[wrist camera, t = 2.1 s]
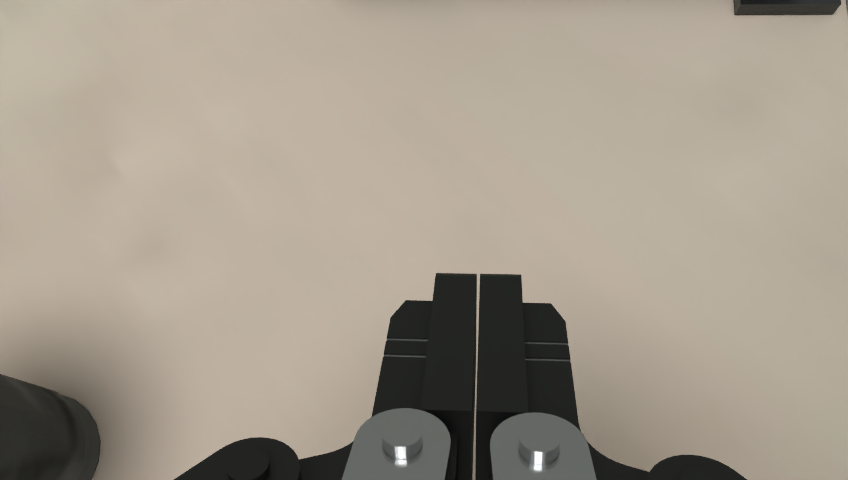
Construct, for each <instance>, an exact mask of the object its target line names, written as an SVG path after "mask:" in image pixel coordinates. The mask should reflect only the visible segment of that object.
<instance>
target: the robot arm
mask: <svg viewBox="0 0 848 480" xmlns="http://www.w3.org/2000/svg"><path fill="white" fill-rule="evenodd" d="M476 300H477V274H454V273H436V277H435V286H434V294H433V301H411V300H406V301H405V302H404V303H403V304H402V305H401V306H400V308H399V309H398V310H397V311H396V312H395V313H394V314H393V315H392V317H391V319H390V324H389V329H388V334H387V341H386V345H385V350H384V357H383V361H382V366H381V371H380V376H379V381H378V387H377V392H376V397H375V402H374V408H373V413H372V417H371V418H370V419H368V420H367V421H366V422H365V423H364V424H363V425H362V426H361V427H360V429H359V430H358V432H357V434H356V436H355V439H354V441H353V442H352V443H351V444H349V445H347V446H345V447H343V448H341V449H339V450H336V451H334V452H330V453H327V454H323V455H318V456H314V457H309V458H304V459H300V460H299V459H298V457H297V455H296V453H295V452H294V450H293V449H291V448H290V447H289V446H288V445H286V444H285V443H283V442H280V441H278V440H275V439H270V438H261V437H260V438H249V439H243V440H240V441H236V442H234V443H231V444H229V445H227V446H225V447H223V448H222V449H220V450H218V451H217V452H215V453H214V454H212V455H211V456H209V457H208V458H206V459H205V460H203V461H202V462H200V463H199V464H197V465H195V466H194V467H192V468H191V469H189V470H188V471H186V472H185V473H183V474H182V475H180V476H179V477H177V478H176V479H174V480H472V471H473V439H474V408H475V375H476ZM476 480H747V479H745V478H744V477H743V476H741V475H740V474H739V473H737V472H736V471H735V470H733V469H731V468H730V467H728V466H727V465H725V464H723V463H721V462H719V461H716V460H713V459H710V458H707V457H702V456H696V455H678V456H673V457H669V458H666V459H664V460H662V461H660V462H659V463H658V464H656V465H655V466H654V467H653V468H652V469H651V471H650V472H647V471H643V470H640V469H637V468H633V467H630V466H626V465H623V464H620V463H618V462H615V461H613V460H611V459H609V458H607V457H605V456H604V455H602V454H600V453H599V452H598V451H597V450H595V449H594V448H593V447H592V446H591V445H590V444H589V443H588V442H587V440H586V438H585V437H584V435H583V434H582V432H581V430H580V427H579V423H578V415H577V407H576V400H575V392H574V384H573V377H572V369H571V363H570V353H569V346H568V338H567V330H566V323H565V320H564V319H563V318H562V317H561V315H560V314H559V313H558V312H557V311H556V309H555V308H554V307H553V306H552V304H550V303H523V301H522V283H521V275H512V274H480V300H479V335H478V370H477V405H476Z"/></svg>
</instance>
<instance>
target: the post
mask: <svg viewBox="0 0 848 480" xmlns="http://www.w3.org/2000/svg"><path fill="white" fill-rule="evenodd" d="M840 5H841V0H734V10H735V15H784V14H833V13H834V12H835V11H836V10H837V8H838V7H839V6H840Z"/></svg>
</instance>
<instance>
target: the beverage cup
mask: <svg viewBox="0 0 848 480" xmlns="http://www.w3.org/2000/svg"><path fill="white" fill-rule="evenodd" d="M99 451H100V438H99V434H98V430H97V425H96V423H95V421H94V420H93V418H92V416H91V415H90V413H89V412H88V410H87V409H86V408H85V407H83V406H82V405H81V404H79V403H78V402H77V401H76V400H74V399H71V398H68V397H65V396H62V395H60V394H59V393H57V392H55V391H52V390H49V389H46V388H43V387H40V386H37V385H33V384H30V383H27V382H24V381H21V380H17V379H14V378H11V377H8V376H5V375H1V374H0V480H91V479H92V477H93V474H94V472H95V469H96V466H97V464H98V461H99Z"/></svg>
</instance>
